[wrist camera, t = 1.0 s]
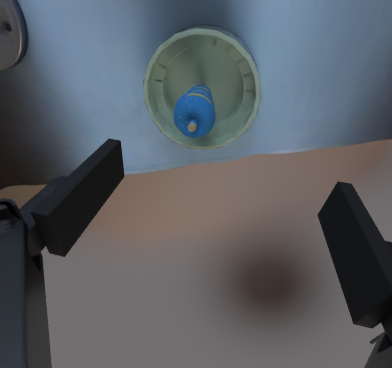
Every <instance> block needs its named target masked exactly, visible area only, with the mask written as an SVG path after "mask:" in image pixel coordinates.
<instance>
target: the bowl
mask: <svg viewBox="0 0 392 368" xmlns="http://www.w3.org/2000/svg"><path fill="white" fill-rule="evenodd" d="M199 84H202V85H205V86H207V87H208V88H209V89H210V91H211V94H212V99H213V103H214V107H215V115H216V119H215V124H214V126H213V128H212V129H211V131H210V132H209V133H208V134H206V135H205V136H203V137H200V138H190V137H188V136H185V135H184V134H183V133H182V132H181V131H180V130H179V129H178V128H177V127H176V125H175V124H174V117H173V115H174V110H175V106H176V103H177V101H178V100H179V98H180V97H181V96H182V95H184V94H185V93H186V92H187V91H189V90H190V89H191V88H192V87H194V86H196V85H199ZM143 87H144V101H145V104H146V106H147V109H148V112H149V114H150V117H151V119H152V120H153V121H154V123H155V124H156V126H157V127H158V128H159V130H160V131H161V132H162V133H163V134H165V135H166V136H167V137H168V138H170V139H171V140H172V141H174V142H176V143H178V144H181V145H183V146H185V147H188V148H193V149H201V150H207V149H213V148H220V147H222V146H224V145H226V144H229V143H231V142H233V141H235V140H236V139H237V138H238V137H239V136H240V135H242V134H243V133H244V132H245V131H246V130H247V129H248V127H249V126H250V124H251V122H252V121H253V119H254V118H255V116H256V114H257V110H258V106H259V102H260V98H261V90H260V77H259V73H258V70H257V66H256V64H255V62H254V59H253V57H252V55H251V52H250V50H249V48H248V47H247V46H246V45H245V44H244V43H243V42H242V41H241V40H240V39H239V38H238V36H237V35H235V34H233V33H231V32H229V31H227V30H225V29H223V28H221V27H219V26H210V25H197V26H193V27H190V28H186V29H183V30H181V31H179V32H178V33H176V34H174V35H173V36H172V37H170V38H169V39H168V40H166V41H165V42H164V43H163V44H161V45H160V46H159V47H158V48H157V50H156V51H155V53H154V54H153V56H152V58H151V59H150V61H149V62H148V64H147V68H146V73H145V77H144V81H143Z"/></svg>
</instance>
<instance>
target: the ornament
mask: <svg viewBox="0 0 392 368" xmlns="http://www.w3.org/2000/svg"><path fill="white" fill-rule="evenodd" d="M173 117H174V124H175V125H176V127H177V128H178V129H179V130H180V131H181V132H182V133H183V134H184V135H185V136H188V137H190V138H200V137H203V136H205V135H206V134H208V133H209V132H210V131H211V129H212V128H213V126H214V124H215V119H216V115H215V107H214V103H213V99H212V94H211V91H210V89H209V88H208V87H207V86H205V85H202V84H199V85H196V86H194V87H192V88H191V89H190V90H189V91H187V92H186V93H185V94H184V95H182V96H181V97H180V98H179V100H178V101H177V103H176V106H175V110H174V115H173Z"/></svg>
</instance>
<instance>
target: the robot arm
mask: <svg viewBox="0 0 392 368" xmlns="http://www.w3.org/2000/svg"><path fill="white" fill-rule="evenodd" d="M27 44H28V35H27V28H26V23H25V19H24V16H23V13H22V11H21V8H20V6H19V4H18V2H17V0H0V70H4V69H7V68H11V67H13V66H15V65H17V64H18V63H19V62H21V60H22V59H23V57H24V56H25V53H26V50H27ZM123 178H124V168H123V158H122V149H121V141H119V140H114V139H108V140H107V141H106V142H105V143H104V144H103V145H101V146H100V147H99V148H98V149H97V150H96V151H95V152H94V153H93V154H92V155H91V156H90V157H89V158H87V159H86V160H85V161H84V162H83V163H82V164H81V165H80V166H79V167H78V168H77V169H76V170H75V171H73V172H72V173H71V174H70V175H69V176H68V177H66V176H60V177H58V178H56V179H54V180H52V181H51V182H50V183H49V184H48V185H46V186H45V188H43V189H42V190H41V191H40V192H39V193H38V194H36V195H35V196H34V197H33V198H32V199H30V200H29V201H28V202H27V203H26V204H25V205H24V206H22V207H21V208H20V209H18V207H17V205H16V203H15V202H14V201H12V200H11V199H0V368H52V366H51V354H50V342H49V330H48V319H47V306H46V294H45V283H44V271H43V259H42V255H41V251H42V250H43V248H44V247H45V246H46V247H47V249H48V251H49V253H51V254H55V255H59V256H63V257H65V256H66V254H67V253H68V252H69V250H70V249H71V248H72V246H73V245H74V244H75V242H76V241H77V239H78V238H79V237H80V236H81V234H82V233H83V232H84V230H85V229H86V228H87V226H88V225H89V223H90V222H91V221H92V219H93V218H94V216H95V215H96V214H97V213H98V211H99V210H100V209H101V207H102V206H103V204H104V203H105V202H106V200H107V199H108V198H109V196H110V195H111V194H112V192H113V191H114V190H115V188H116V187H117V186H118V184H119V183H120V182H121V180H122V179H123ZM318 218H319V221H320V224H321V227H322V230H323V233H324V236H325V239H326V242H327V245H328V248H329V251H330V254H331V257H332V260H333V263H334V266H335V269H336V272H337V275H338V278H339V281H340V284H341V288H342V290H343V293H344V296H345V299H346V303H347V306H348V309H349V312H350V315H351V318H352V321H353V324H356V325H360V326H364V327H368V328H374V327H375V326H376V325H378V324H379V323H382V325H383V328H384V330H385V332H383V333H381V334H380V335H378V336H377V337H375V338H374V339H372V340H371V341H370V343H371V344H374V343H375V342H376V345H375V347H374V349H373V351H372V353H371V355H370V357H369V359H368V361H367V363H366V365H365V367H364V368H392V242H388V241H385V240H384V239H383V237H382V235H381V233H380V232H379V230H378V228H377V227H376V225H375V223H374V221H373V220H372V218H371V216H370V215H369V213H368V211H367V209H366V208H365V206H364V205H363V203H362V201H361V199H360V197H359V196H358V194H357V192H356V191H355V189H354V187H353V186H352V184H349V183H344V182H337V184H336V185H335V187H334V189H333V190H332V192H331V194H330V196H329V197H328V199H327V200H326V202H325V204H324V205H323V207H322V209H321V210H320V212H319V213H318Z"/></svg>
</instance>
